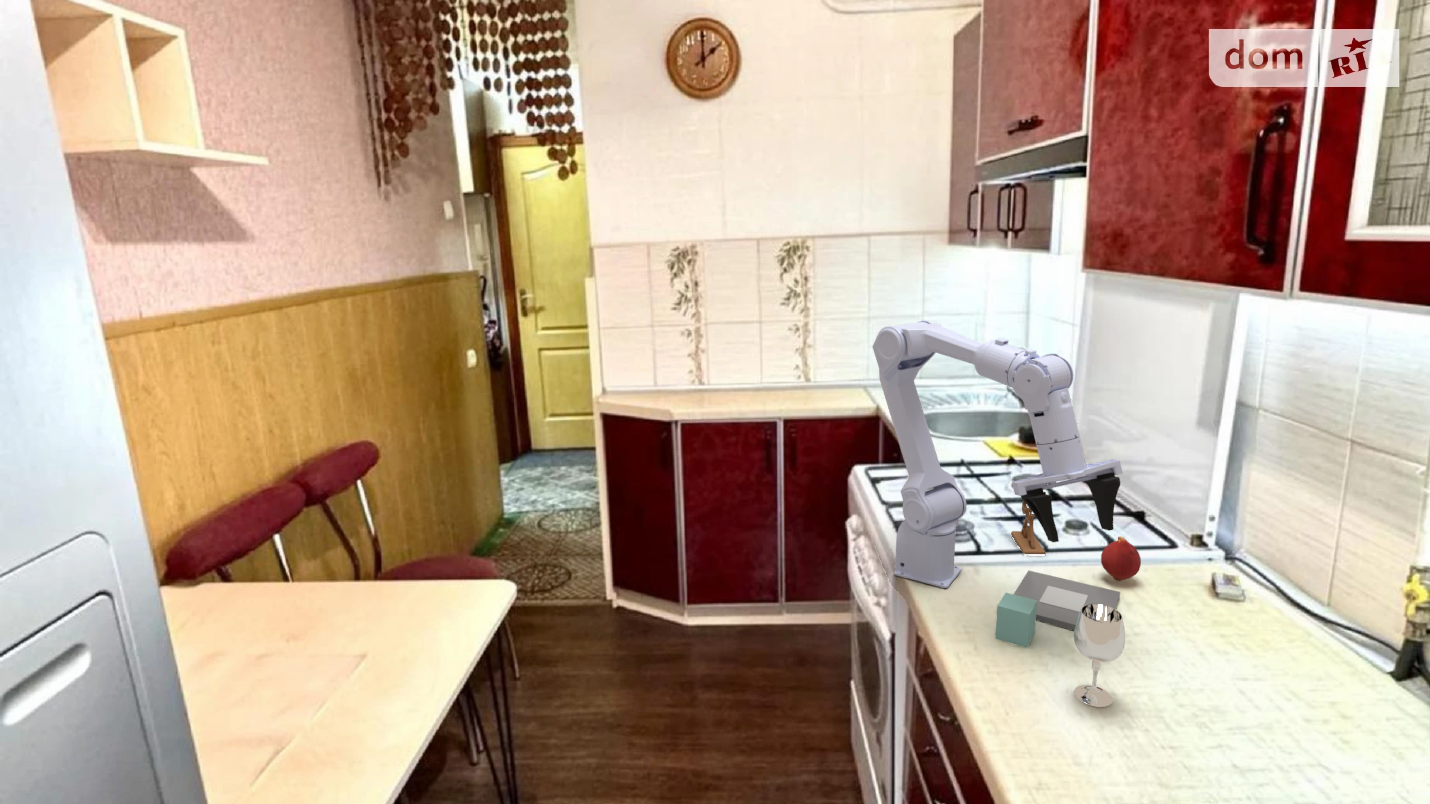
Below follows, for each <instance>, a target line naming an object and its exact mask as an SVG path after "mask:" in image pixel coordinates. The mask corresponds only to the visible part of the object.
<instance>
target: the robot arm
mask: <svg viewBox="0 0 1430 804" xmlns="http://www.w3.org/2000/svg"><path fill="white" fill-rule="evenodd" d="M872 349H873V353H874V356H875V360H876V362H877V365H878V372H879V373H878V375H879V376H878V377H879V382H880V385H881V389H882V392H883V395H884V399H885V401H886V405H887V408H888V412H889V415H890V419H891V422H892V425H893V427H894V433H895V434H896V438H897V441H898V445H899V449H900V452H901V455H902V457H903V458H902V459H903V461H904V464H905V467H906V472H907V474H908V477H907V479H906V481H905V483H904V484H903V486H902V488H901V490H900V495H901V498H902V514H903V515H902V516H903V518H904V520H903V521H902V522H901V523H900V525H899V527H898V529H897V534H896V540H895V569H894V571H893V575H894V576H897V577H900V578H905V579H907V580H908V579H909V580H911V581H915V582H920V583H923V584H928V585H932V586H934V587H939V588H943V589H948V588H949V587H950V586H951V584H952V583H953V582H954V580H955V579H956V578H957V576H959V575H960V573H961V572H962V570H963V569H962V567H960V566H957V565H955V553H956V552H955V551H956V549H955V548H956V533H957V531H956V530H957V527H958V526H959V519H961V518H963V516H964V515H965V514H966V511H967V500H966V497H965V495H964V492H963V491H962V490H961V489H960V488H959V486H958V484H957V483H956V482H957V481H956V479H955V476H954V475H953V474H951V473H950V472H948V471H946V470H945V469H943V468H941V464H940V461H939V458H938V454H937V452H936V451H937V450H936V448H935V445H934V441H933V439H932V435H931V432H930V429H929V425H928V421H927V419H926V417H925V413H924V410H923V406H922V403H921V399H920V396H919V393H918V390H917V385H916V383H915V379H916V377H917V376H918V374H919V371H920V370H921V369H922V368H923V367H924V366H925V365H926V364H927V363H928V362H929V361H930V360H931V359H932V358H933V357H934V356H935V355H936V354H940V355H942V356H946V357H948V358H949V357H950V358H952V359H954V360H958V361H962V362H965V363H968V364H971V365H973V366H974V369H975V371H976V373H977V374H978V375H979V376H981V377H983V378H987V379H989V380H992V381H995V382H996V383H999V384H1000V385H1001V384H1002V385H1005V386H1007V387H1009V388H1012V389H1013V391H1014V393H1015V394H1016V395H1017V396H1018V397H1019V398H1020V399H1021V401H1022V402H1023V405H1024V409H1025V410H1027V413H1028V416H1029V417H1028V418H1029V420H1030V424H1031V429H1032V433H1033V436H1034V440H1035V445H1036V450H1037V455H1038V458H1039V463H1040V465H1041V470H1042V473H1039V474H1036V475H1035V474H1034V475H1031V476H1028V477H1025V478H1021V479H1018V480H1013V481H1011V483H1012V484H1011V485H1012V488H1013V493H1014V495H1015V496H1019V497H1020V498H1021V499H1022V502H1023V501H1024V502H1025V503H1026V505H1028V507H1027V508H1030V509H1031V510H1032V514H1034V515H1035V516H1036V517H1035V518H1036V519H1037V520H1038V522H1039V524H1040V526H1041V527H1042V529H1043V531H1044V534H1045V536H1046V538H1047V540H1048V541H1049V542H1051V543H1057V542H1058V543H1059V542H1060V540H1059V533H1058V530H1057V527H1056V523H1055V519H1054V513H1053V505H1052V503H1053V502H1052V495H1050V494H1047V492H1046V491H1044V490H1048V489H1054V488H1059V487H1063V486H1067V485H1072V484H1075V483H1082V482H1085V481H1086V484H1087V486H1088V489H1089V490H1090V492H1091V495H1092V499H1093V501H1094V504H1095V507H1096V513H1097V517H1098V522H1099V525H1100V527H1101V530H1105V531H1108V532H1109V531H1114V511H1115V504H1116V498H1117V495H1118V492H1119V489H1120V487H1121V478H1120V477H1119V476H1118V475H1121V474H1124V473H1123V469H1122V465H1121V461H1120V460H1119V459H1108V460H1103V461H1098V462H1092V463H1087V462H1086V457H1085V452H1084V450H1083V445H1082V440H1081V437H1080V433H1079V428H1078V425H1077V424H1078V423H1077V420H1076V417H1075V416H1076V415H1075V412H1074V406H1073V404H1072V399H1071V395H1070V392H1069V389H1070V388H1071V386H1072V384H1073V381H1074V370H1073V367H1072V365H1071V364H1070V363H1069V361H1068V360H1067V359H1066V358H1064V357H1063V356H1060V355H1059V354H1058V353H1054V352H1053V353H1052V352H1051V353H1046V354H1044V355H1042V356H1040V355H1039V354H1038V353H1037V350H1035V349H1032V348H1029V349H1023V348H1020V347H1017V346H1015V345H1014V346H1013V345H1011V344H1009V339H1006V338H1004V337H1001V338H995V339H990V340H988V341H986V342H984V343H981V342H979V341H977V340H974V339H972V338H970V337H967V336H966V335H965V336H964V335H963V334H960V333H958V332H956V331H953V330H951V329H949V328H945V327H943V326H942V324H941V323H937V322H932V321H929V320H920V321H917V322H913V323H912V322H911V323H905V324H899V325H889V326H884V327H882V328H881V329H880V330H879V332H878V333H877V335H876V337H875V339H874V342H873V345H872ZM1116 475H1117V476H1116ZM932 488H933V489H932Z"/></svg>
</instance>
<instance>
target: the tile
mask: <svg viewBox="0 0 1430 804" xmlns="http://www.w3.org/2000/svg"><path fill="white" fill-rule="evenodd" d="M1019 583H1020V584H1019V585H1018V587H1017V588H1016V590H1015V591H1014V593H1013V594H1014V595H1018V596H1022V597H1026V598H1029V599H1033V600H1037V613H1036V621H1037V622H1041V623H1044V624H1048V625H1053V626H1056V627H1059V628H1062V629H1068V630H1071V631H1074V628H1075V623H1076V620H1077V617H1078V615H1079V612H1080V610H1081V608H1082V607H1083V606H1084V605H1087V604H1101V605H1106V606H1109V607H1112V608H1114V609H1116V610H1117V606H1118V603H1119V600H1120V598H1121V591H1118V590H1114V589H1109V588H1106V587H1100V586H1097V585H1092V584H1088V583H1084V582H1080V581H1075V580H1071V579H1066V578H1063V577H1060V576H1053V575H1050V574H1045V573H1042V572H1036V571H1034V570H1028V571H1027V572H1026V574H1025V575H1024V577H1023V578H1022V580H1021V582H1019Z"/></svg>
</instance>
